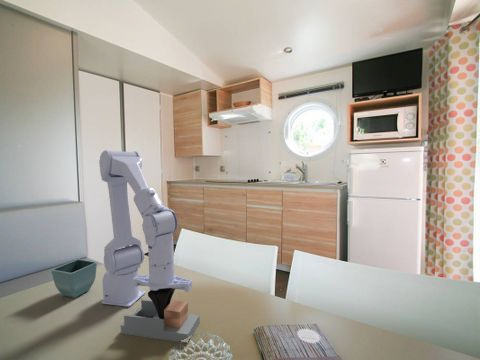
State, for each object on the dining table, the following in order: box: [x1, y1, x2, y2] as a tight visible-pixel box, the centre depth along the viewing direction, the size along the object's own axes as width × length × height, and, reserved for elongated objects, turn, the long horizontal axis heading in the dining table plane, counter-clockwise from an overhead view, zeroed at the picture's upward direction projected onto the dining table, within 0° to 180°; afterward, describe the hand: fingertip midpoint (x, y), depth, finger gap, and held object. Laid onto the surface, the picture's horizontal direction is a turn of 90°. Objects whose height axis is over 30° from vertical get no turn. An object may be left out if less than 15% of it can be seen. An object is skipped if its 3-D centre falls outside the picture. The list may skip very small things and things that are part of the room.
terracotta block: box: [164, 299, 189, 329], centre depth 57 cm, size 4×4×4 cm
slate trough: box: [120, 299, 201, 343], centre depth 58 cm, size 17×7×4 cm, turn 78°
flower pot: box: [51, 259, 98, 299], centre depth 76 cm, size 9×9×9 cm
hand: (163, 316), depth 58 cm, fingers closed
